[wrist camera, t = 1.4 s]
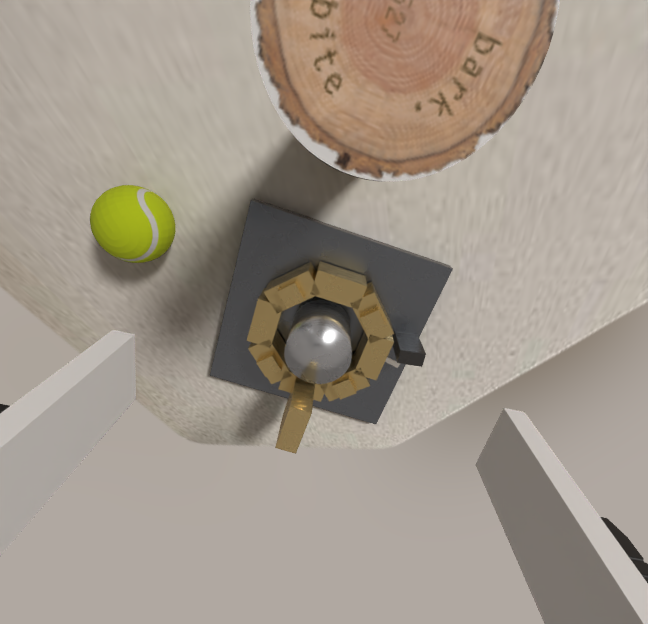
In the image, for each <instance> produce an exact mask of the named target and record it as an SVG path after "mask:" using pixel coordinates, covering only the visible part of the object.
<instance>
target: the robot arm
mask: <svg viewBox="0 0 648 624" xmlns="http://www.w3.org/2000/svg"><path fill="white" fill-rule="evenodd" d="M135 399H136V372H135V334H131V333H126V332H121V331H116V330H112V331H111V332H109V333H108V334H106V335H105V336H104V337H102V338H101V339H100V340H98V341H97V342H96V343H94V344H93V345H92V346H90V347H89V348H88V349H86V350H85V351H84V352H82V353H81V354H80V355H78V356H77V357H76V358H74V359H73V360H72V361H70V362H69V363H68V364H66V365H65V366H63V367H62V368H61V369H59V370H58V371H57V372H55V373H54V374H53V375H52V376H50V377H49V378H48V379H46V380H45V381H43V382H42V383H41V384H39V385H38V386H37V387H35V388H34V389H33V390H31V391H30V392H29V393H27V394H26V395H24V396H23V397H22V398H21V399H19V400H18V401H16V402H15V403H14V404H12V405H11V406H8V405H3V404H0V556H1V555H2V553H3V552H4V551H5V550H6V549H7V548H8V547H9V545H10V544H11V543H12V542H13V541H14V540H15V539H16V537H17V536H18V535H19V534H20V533H21V532H22V530H23V529H24V528H25V527H26V526H27V524H28V523H29V522H30V521H31V520H32V519H33V518H34V516H35V515H36V514H37V513H38V512H39V511H40V509H41V508H42V507H43V506H44V505H45V504H46V502H47V501H48V500H49V499H50V498H51V497H52V496H53V494H54V493H55V492H56V491H57V490H58V489H59V487H60V486H61V485H62V484H63V483H64V482H65V480H66V479H67V478H68V477H69V476H70V475H71V474H72V472H73V471H74V470H75V469H76V468H77V467H78V465H79V464H80V463H81V462H82V461H83V460H84V458H85V457H86V456H87V455H88V454H89V453H90V451H91V450H92V449H93V448H94V447H95V446H96V444H97V443H98V442H99V441H100V440H101V439H102V437H103V436H104V435H105V434H106V433H107V432H108V431H109V429H110V428H111V427H112V426H113V425H114V424H115V422H116V421H117V420H118V419H119V418H120V417H121V415H122V414H123V413H124V412H125V411H126V410H127V409H128V407H129V406H130V405H131V404H132V403H133V402H134V400H135ZM476 467H477V469H478V471H479V474H480V476H481V478H482V481H483V483H484V485H485V488H486V490H487V492H488V494H489V497H490V499H491V501H492V504H493V506H494V508H495V510H496V513H497V515H498V517H499V520H500V522H501V524H502V527H503V529H504V531H505V533H506V536H507V538H508V540H509V543H510V545H511V547H512V550H513V552H514V554H515V557H516V559H517V561H518V564H519V566H520V568H521V570H522V572H523V575H524V577H525V580H526V582H527V584H528V586H529V589H530V591H531V593H532V596H533V598H534V600H535V602H536V605H537V607H538V610H539V612H540V614H541V616H542V619H543V621H544V623H545V624H648V564H647V563H644V561H643V557H642V556H641V555H640V553H639V552H638V551H637V549H636V548H635V547H634V545H633V544H632V543H631V541H630V540H629V539H628V537H626V536H625V535H624V534H623V533H622V532H621V531H620V530H619V529H618V528H617V527H616V526H615V525H614V524H613V523H612V522H610V521H609V520H608V519H607V518H603V517H599V515H598V514H597V512H596V511H595V510H594V508H593V507H592V505H591V504H590V503H589V501H588V500H587V498H586V497H585V495H584V494H583V493H582V491H581V490H580V489H579V487H578V486H577V484H576V483H575V482H574V480H573V479H572V477H571V476H570V475H569V473H568V472H567V470H566V469H565V468H564V467H563V465H562V463H561V462H560V461H559V459H558V458H557V456H556V455H555V454H554V452H553V451H552V450H551V448H550V447H549V445H548V444H547V443H546V441H545V440H544V438H543V437H542V436H541V434H540V433H539V431H538V430H537V429H536V427H535V426H534V425H533V423H532V422H531V420H530V419H529V418H528V416H527V415H526V413H525V412H522V411H517V410H512V409H507V408H504V409H503V411H502V413H501V415H500V417H499V419H498V421H497V423H496V425H495V427H494V429H493V431H492V433H491V435H490V437H489V439H488V441H487V443H486V445H485V447H484V449H483V451H482V453H481V455H480V457H479V459H478V461H477V463H476Z"/></svg>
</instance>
